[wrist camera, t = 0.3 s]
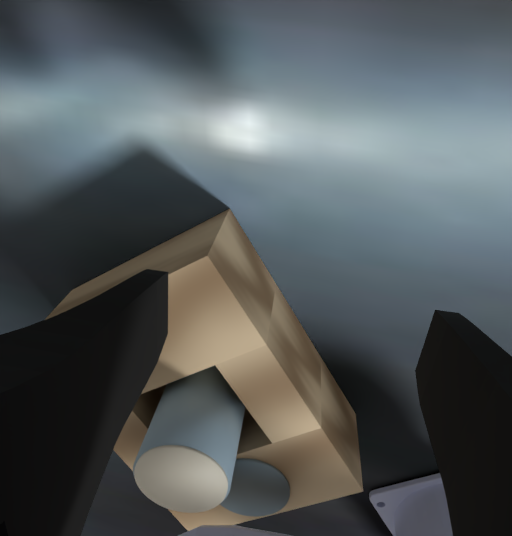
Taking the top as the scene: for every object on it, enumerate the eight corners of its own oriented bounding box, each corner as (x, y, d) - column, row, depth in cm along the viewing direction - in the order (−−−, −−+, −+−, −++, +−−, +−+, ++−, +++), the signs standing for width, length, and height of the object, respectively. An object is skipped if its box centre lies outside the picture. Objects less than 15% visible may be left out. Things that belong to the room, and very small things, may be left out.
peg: (262, 407, 23) (248, 501, 19) (196, 430, 24) (168, 522, 20) (220, 348, 22) (194, 434, 17) (152, 376, 23) (111, 462, 18)
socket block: (355, 414, 27) (363, 495, 22) (210, 459, 30) (191, 539, 25) (229, 208, 22) (206, 258, 17) (71, 290, 25) (16, 349, 20)
